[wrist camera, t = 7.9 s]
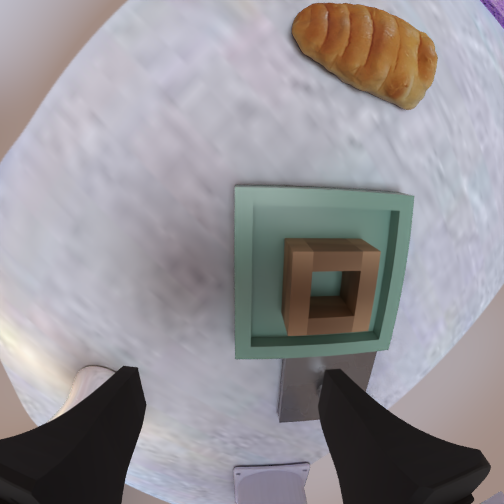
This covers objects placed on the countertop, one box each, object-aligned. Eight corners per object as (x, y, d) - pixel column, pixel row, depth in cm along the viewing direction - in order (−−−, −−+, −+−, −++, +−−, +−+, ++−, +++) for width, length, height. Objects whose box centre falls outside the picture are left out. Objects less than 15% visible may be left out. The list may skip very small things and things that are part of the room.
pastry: (280, 73, 17) (289, 52, 13) (298, -5, 15) (309, -33, 11) (409, 117, 18) (440, 110, 14) (418, 40, 16) (445, 24, 12)
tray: (378, 336, 22) (388, 349, 20) (235, 343, 21) (235, 359, 19) (399, 192, 19) (414, 195, 17) (235, 184, 18) (234, 187, 16)
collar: (352, 309, 20) (368, 330, 17) (281, 312, 20) (287, 336, 17) (361, 238, 19) (380, 251, 16) (284, 238, 19) (292, 251, 16)
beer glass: (156, 416, 23) (121, 563, 9) (95, 419, 24) (46, 540, 9) (120, 356, 21) (46, 517, 7) (59, 364, 22) (-22, 488, 7)
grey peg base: (354, 405, 24) (369, 439, 20) (277, 412, 24) (283, 451, 19) (371, 342, 22) (393, 375, 18) (283, 348, 22) (292, 386, 17)
